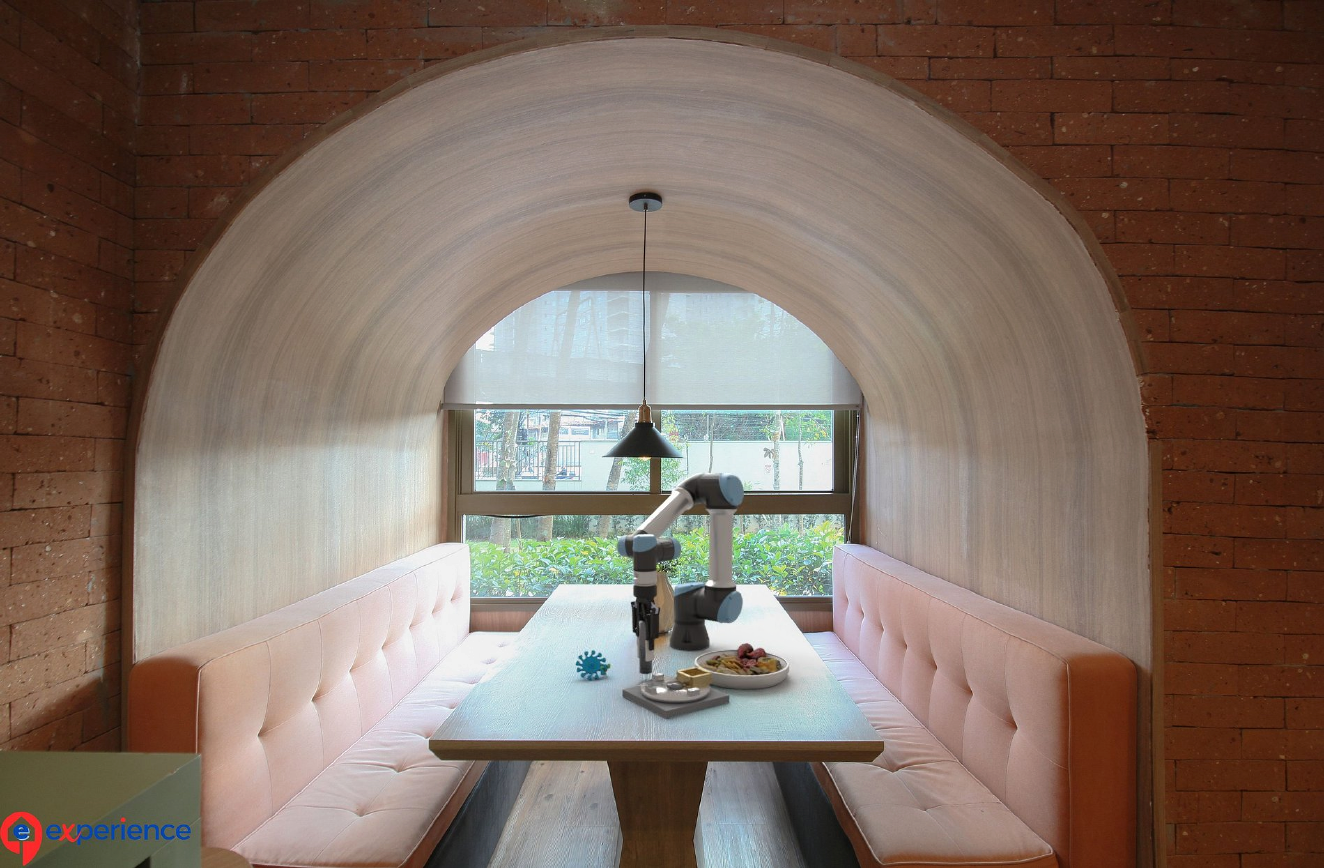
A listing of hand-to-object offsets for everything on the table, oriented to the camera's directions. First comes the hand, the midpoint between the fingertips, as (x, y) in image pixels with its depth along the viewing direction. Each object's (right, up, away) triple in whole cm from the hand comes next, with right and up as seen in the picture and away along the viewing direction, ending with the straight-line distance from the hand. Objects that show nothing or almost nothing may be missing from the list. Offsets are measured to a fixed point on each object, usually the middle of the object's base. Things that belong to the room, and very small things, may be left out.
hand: (645, 658), depth 214 cm
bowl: (+31, -7, +3) cm, 32 cm away
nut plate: (+9, -6, -19) cm, 21 cm away
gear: (-17, -7, +3) cm, 18 cm away
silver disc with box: (+9, -3, -18) cm, 21 cm away
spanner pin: (0, -4, 0) cm, 4 cm away
